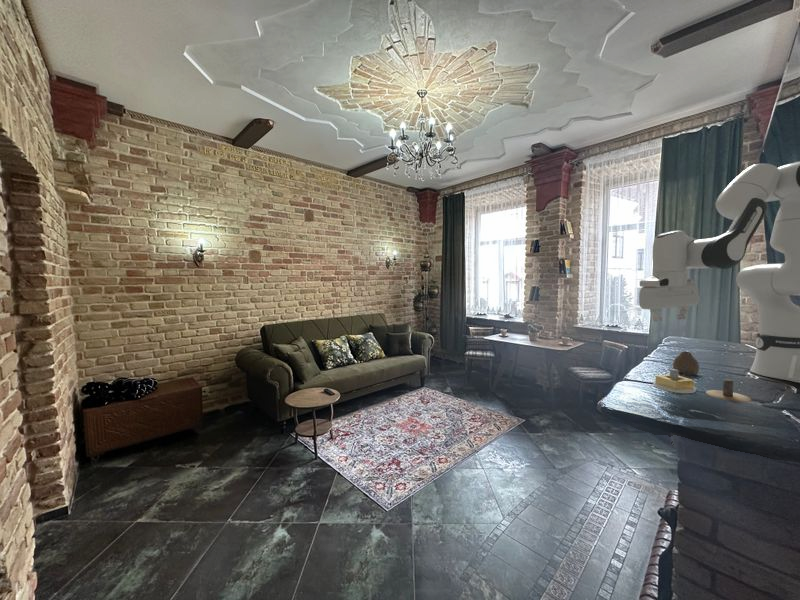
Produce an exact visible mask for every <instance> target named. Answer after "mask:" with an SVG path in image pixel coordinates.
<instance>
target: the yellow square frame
mask: <svg viewBox="0 0 800 600" xmlns="http://www.w3.org/2000/svg"><path fill="white" fill-rule="evenodd" d="M655 383H656V384H659V385H662V386H665V387H668V388H671V389H674V390H682V389H693V388H694V387H695V380H694V379H691V378H688V377H685V376H680V375H678V380H673V379H670V373H668V374H661V375H660V374H658V375H655Z"/></svg>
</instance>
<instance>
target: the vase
mask: <svg viewBox="0 0 800 600" xmlns="http://www.w3.org/2000/svg"><path fill="white" fill-rule="evenodd" d="M699 364H700V363H699V362H698V360H697V359H696V358H695V357H694V356H693V354H692V353H691V351H681V352H680V354H678V355H677V356H676V357H675V358H674V360H673V363H672V369H676V370H679V371H678V375H686V376H687V375H689V376H698V374H699V372H700V365H699Z"/></svg>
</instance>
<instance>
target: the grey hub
mask: <svg viewBox="0 0 800 600" xmlns="http://www.w3.org/2000/svg"><path fill="white" fill-rule="evenodd" d="M678 371H679V370H676V369H673V368H670V369H669V374H670V379H673V380H678V376H679V374H678ZM652 385H653V386H654V387H655V388H656V389H660V390H662V391H667V392H671V393H677V394H694V393H695V392H696V391H697V389H696V387H695V386H694V388H693V389H682V390H674V389H671V388H668V387H665V386H662V385H659V384H656V383H655V381H654V380H653V382H652Z"/></svg>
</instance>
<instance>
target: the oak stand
mask: <svg viewBox="0 0 800 600" xmlns="http://www.w3.org/2000/svg"><path fill="white" fill-rule="evenodd" d="M722 381H723V384H722V385H723V386H722V390H719V389H709V390H706V392H705V393H706V394H707V395H709V396H711V397H713V398H715V399H720V400H723V401H729V402H736V403H737V402H738V403H739V402H740V403H741V402H742V403H748V402H749V403H750V402H751V401H752V398H750V397H749V396H746V394H745V395H744V394H741V393H737V392H734V380H732V379H729V378H723V379H722Z"/></svg>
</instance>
